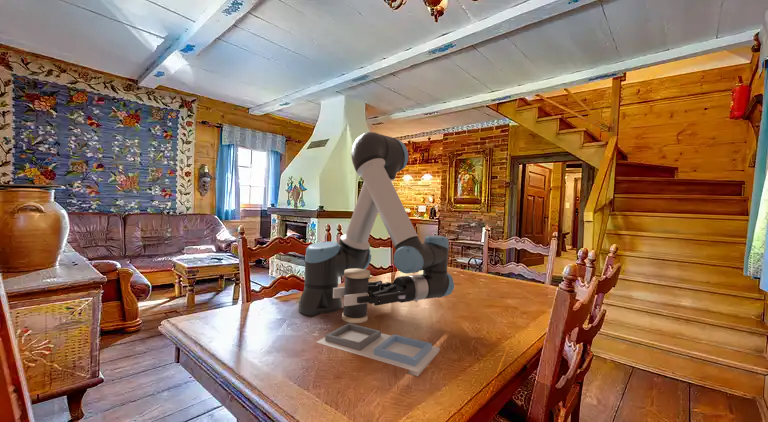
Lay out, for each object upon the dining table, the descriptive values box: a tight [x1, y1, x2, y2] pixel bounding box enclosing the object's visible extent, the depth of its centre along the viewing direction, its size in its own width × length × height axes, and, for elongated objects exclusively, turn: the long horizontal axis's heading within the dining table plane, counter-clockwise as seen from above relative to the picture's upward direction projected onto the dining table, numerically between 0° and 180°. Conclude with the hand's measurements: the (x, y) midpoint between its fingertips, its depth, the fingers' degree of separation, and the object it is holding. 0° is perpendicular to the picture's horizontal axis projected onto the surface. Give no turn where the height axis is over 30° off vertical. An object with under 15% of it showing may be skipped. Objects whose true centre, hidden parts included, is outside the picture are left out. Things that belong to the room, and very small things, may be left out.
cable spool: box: [341, 268, 371, 324], centre depth 92 cm, size 7×7×13 cm
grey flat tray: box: [315, 322, 441, 377], centre depth 89 cm, size 29×15×2 cm, turn 62°
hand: (339, 296), depth 90 cm, fingers closed on cable spool, 6 cm apart
